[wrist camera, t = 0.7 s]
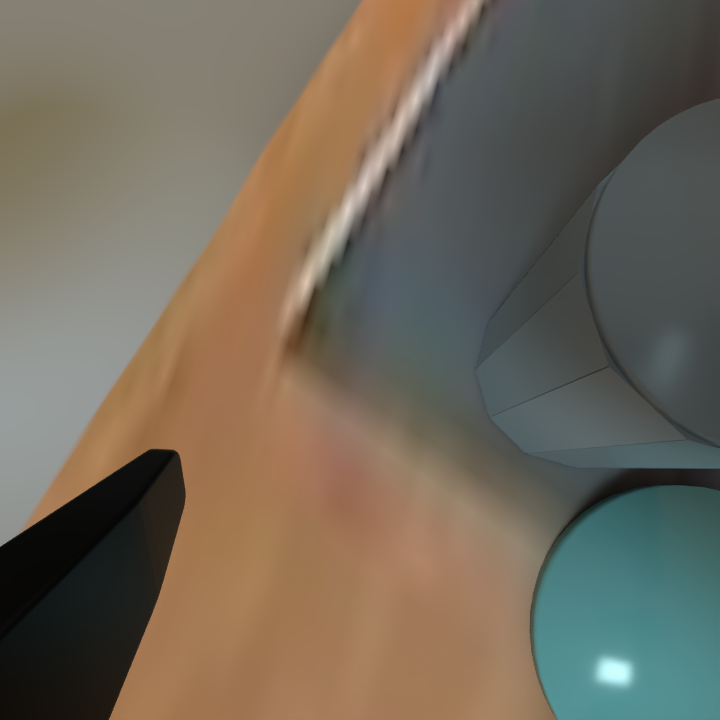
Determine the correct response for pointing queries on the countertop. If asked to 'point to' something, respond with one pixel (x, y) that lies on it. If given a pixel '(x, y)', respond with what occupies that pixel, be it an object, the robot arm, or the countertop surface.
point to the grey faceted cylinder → (622, 317)
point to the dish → (633, 609)
